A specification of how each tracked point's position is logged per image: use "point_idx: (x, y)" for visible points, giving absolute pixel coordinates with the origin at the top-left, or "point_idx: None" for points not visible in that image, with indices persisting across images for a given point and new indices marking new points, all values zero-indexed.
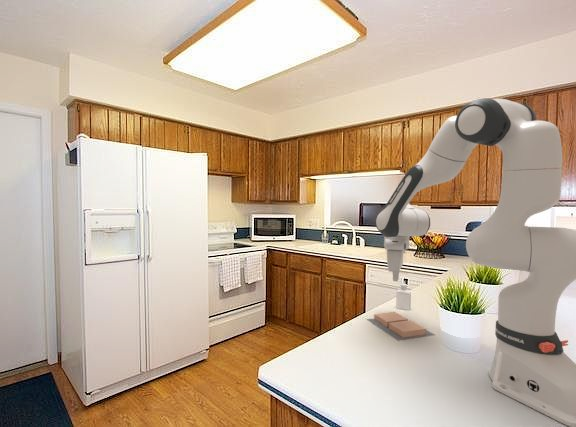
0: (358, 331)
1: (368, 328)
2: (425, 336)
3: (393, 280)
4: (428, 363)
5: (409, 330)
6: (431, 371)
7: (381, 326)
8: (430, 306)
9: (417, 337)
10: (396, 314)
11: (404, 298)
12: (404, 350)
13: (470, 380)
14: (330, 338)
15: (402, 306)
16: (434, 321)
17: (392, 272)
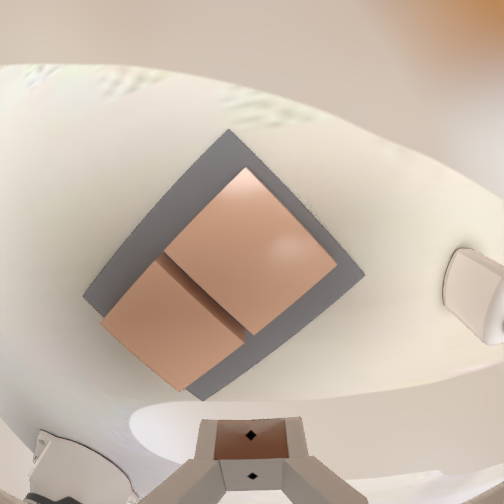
0: (86, 141)
1: (132, 167)
2: None
3: (202, 423)
4: (34, 359)
5: (125, 341)
6: (14, 359)
7: (170, 217)
8: (495, 357)
9: None
10: (297, 280)
11: (472, 308)
12: (47, 313)
13: (37, 410)
14: (11, 91)
15: (453, 282)
16: (349, 394)
17: (144, 498)
